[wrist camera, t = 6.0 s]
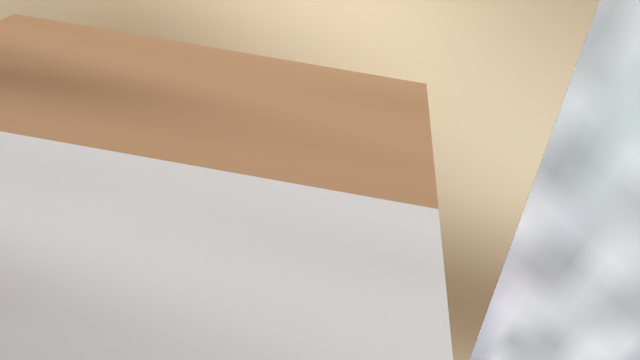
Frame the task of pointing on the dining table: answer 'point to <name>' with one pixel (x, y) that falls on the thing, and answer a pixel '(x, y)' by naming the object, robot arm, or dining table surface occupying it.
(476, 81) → the cream slab
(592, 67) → the dining table surface
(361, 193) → the housing
